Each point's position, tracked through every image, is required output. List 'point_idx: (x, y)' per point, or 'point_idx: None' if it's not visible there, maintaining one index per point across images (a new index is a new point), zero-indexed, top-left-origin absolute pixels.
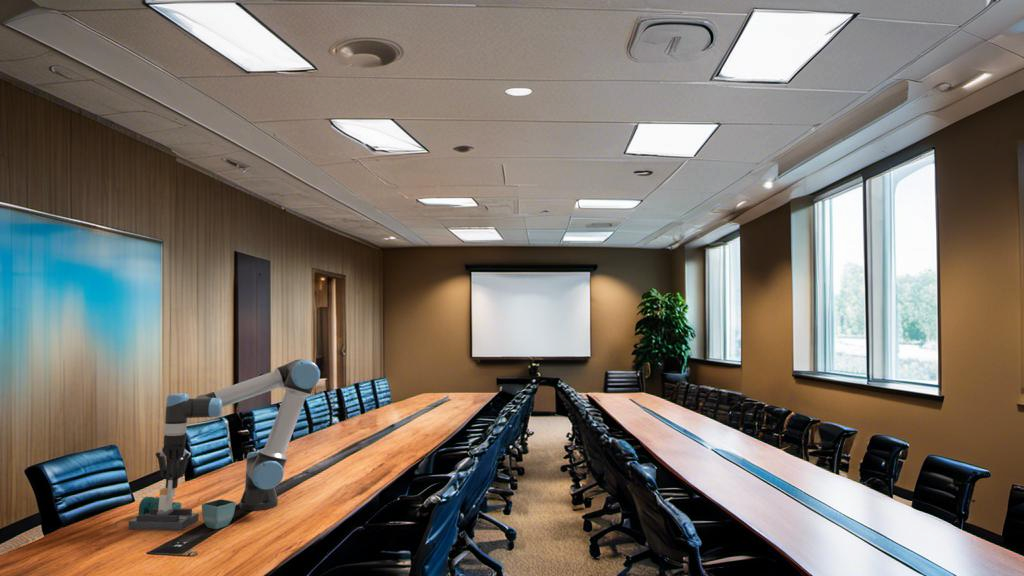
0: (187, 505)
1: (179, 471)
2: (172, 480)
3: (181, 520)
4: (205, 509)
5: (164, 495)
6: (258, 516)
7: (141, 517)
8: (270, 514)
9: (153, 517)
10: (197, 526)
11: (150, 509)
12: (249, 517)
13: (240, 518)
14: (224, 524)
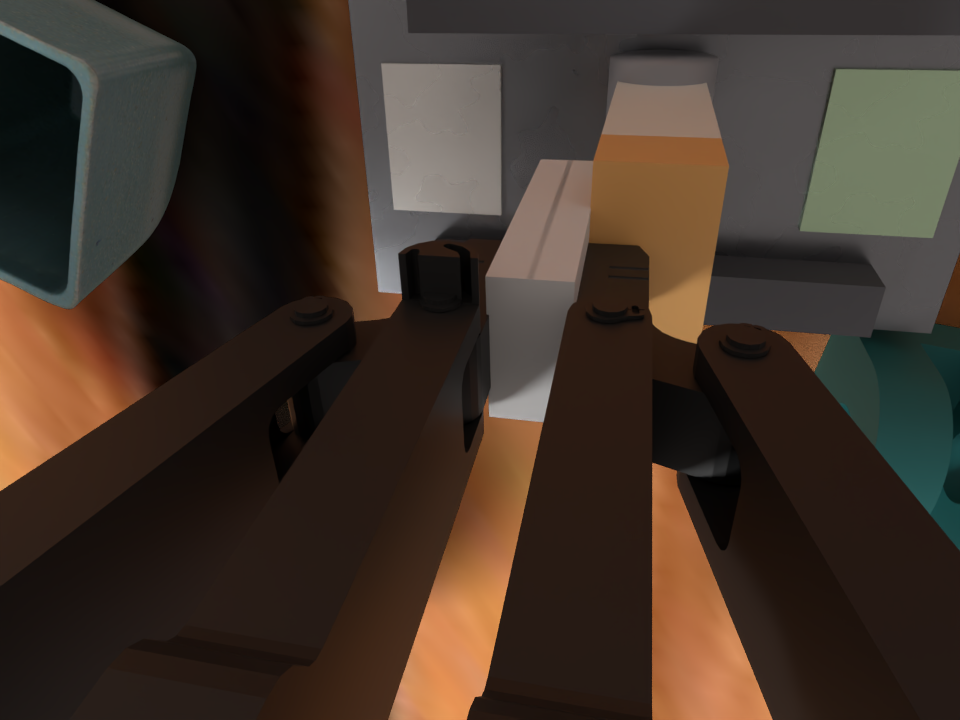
0: (713, 649)
1: (230, 384)
2: (486, 294)
3: (389, 13)
4: (59, 26)
5: (626, 132)
6: (55, 370)
7: None
8: (18, 410)
9: None
10: (311, 98)
11: (919, 366)
12: (93, 349)
13: (134, 327)
14: (41, 69)
